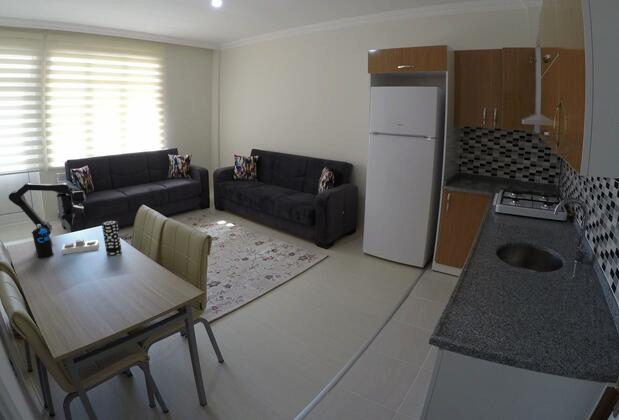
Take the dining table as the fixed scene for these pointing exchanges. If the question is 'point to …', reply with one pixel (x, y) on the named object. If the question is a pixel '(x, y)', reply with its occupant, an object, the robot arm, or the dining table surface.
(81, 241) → the key middle
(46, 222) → the robot arm
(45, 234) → the aerosol can
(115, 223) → the spotted tube
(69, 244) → the key near
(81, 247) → the keypad
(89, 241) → the key far
